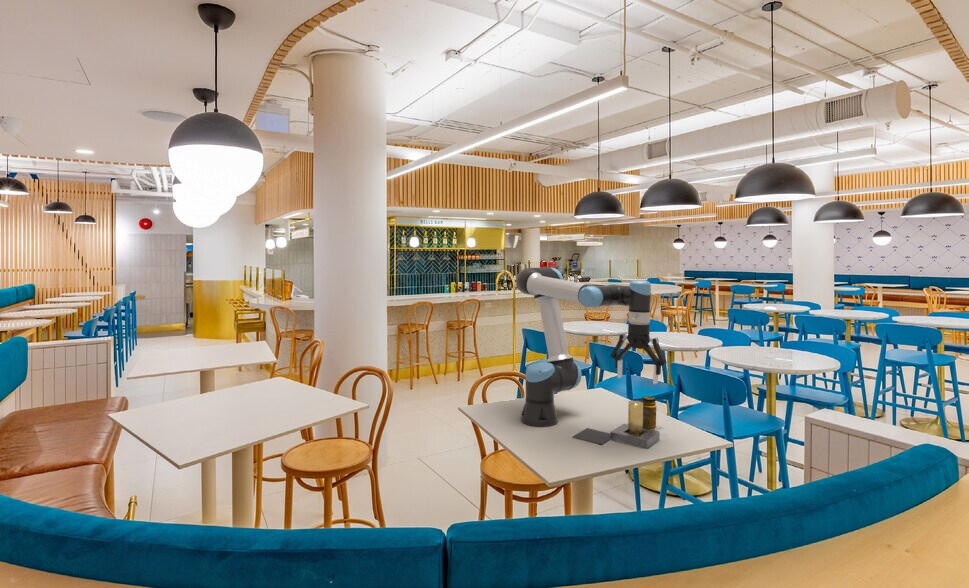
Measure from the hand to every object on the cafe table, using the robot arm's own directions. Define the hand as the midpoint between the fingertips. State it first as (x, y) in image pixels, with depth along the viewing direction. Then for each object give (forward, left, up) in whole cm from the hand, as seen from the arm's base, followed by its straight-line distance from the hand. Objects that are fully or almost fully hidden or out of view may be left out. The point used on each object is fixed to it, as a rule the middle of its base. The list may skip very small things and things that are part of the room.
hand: (637, 380), depth 183 cm
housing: (0, 0, -22) cm, 22 cm away
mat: (-13, -7, -22) cm, 27 cm away
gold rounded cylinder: (0, 0, -22) cm, 22 cm away
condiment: (-2, +16, -23) cm, 28 cm away
